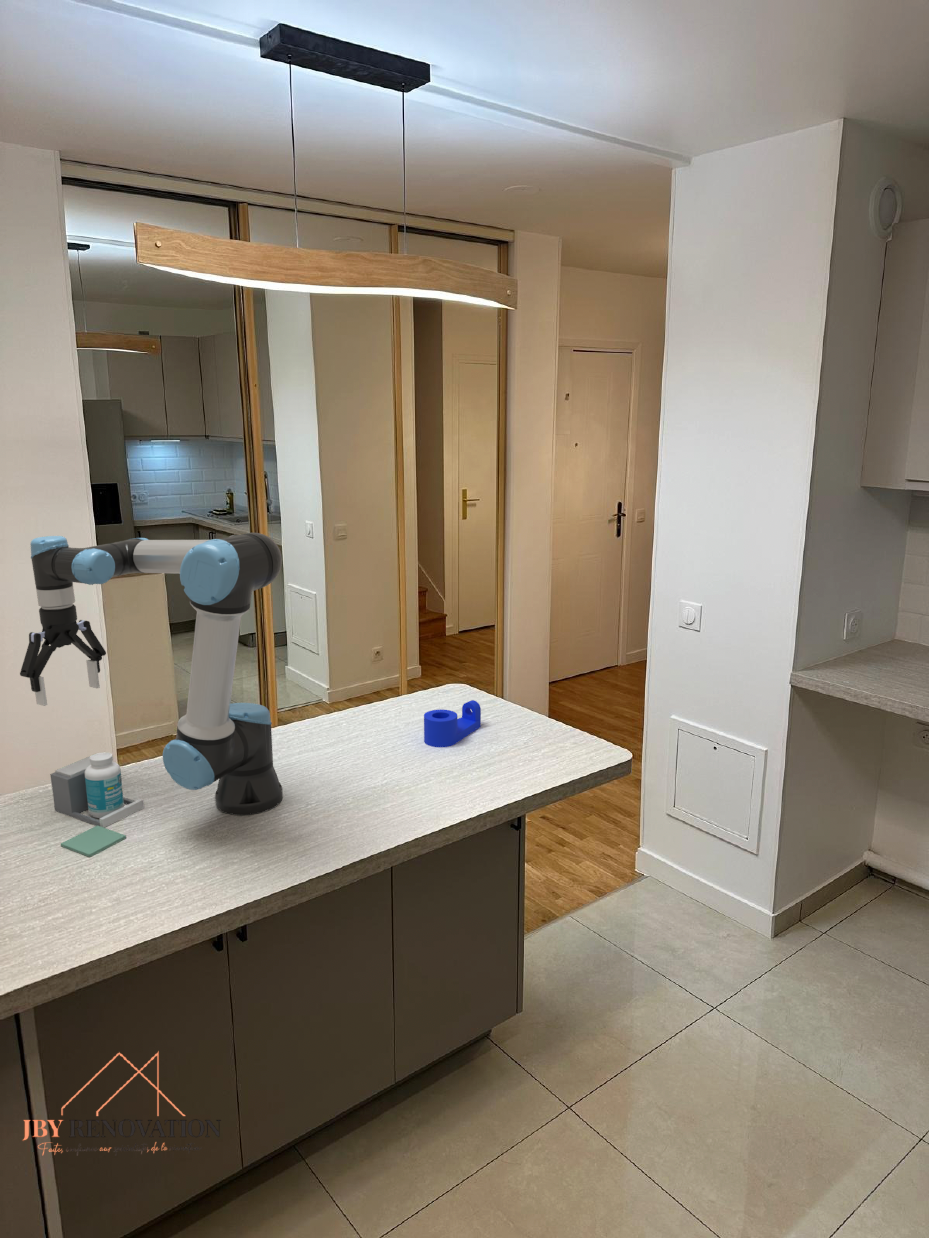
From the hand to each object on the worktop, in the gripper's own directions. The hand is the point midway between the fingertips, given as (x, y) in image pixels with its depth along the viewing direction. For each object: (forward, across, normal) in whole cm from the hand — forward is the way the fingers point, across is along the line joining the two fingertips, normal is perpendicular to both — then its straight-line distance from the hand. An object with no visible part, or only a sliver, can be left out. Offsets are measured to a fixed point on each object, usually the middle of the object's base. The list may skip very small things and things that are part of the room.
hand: (69, 695), depth 196 cm
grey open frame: (+24, +4, +11) cm, 27 cm away
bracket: (+26, -75, +58) cm, 98 cm away
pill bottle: (+24, +4, +14) cm, 28 cm away
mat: (+24, +14, +23) cm, 36 cm away
